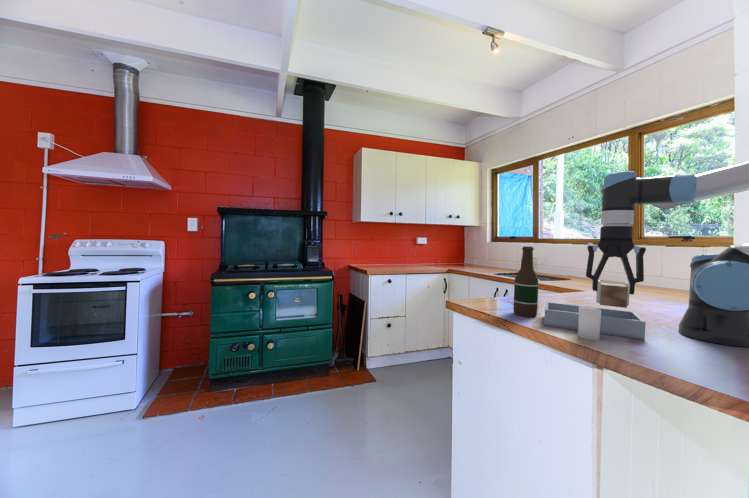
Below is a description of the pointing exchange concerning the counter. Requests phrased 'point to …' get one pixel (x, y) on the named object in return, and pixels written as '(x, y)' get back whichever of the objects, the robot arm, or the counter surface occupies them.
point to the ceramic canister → (589, 323)
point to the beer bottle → (526, 286)
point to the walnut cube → (613, 295)
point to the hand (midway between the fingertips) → (611, 303)
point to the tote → (611, 320)
